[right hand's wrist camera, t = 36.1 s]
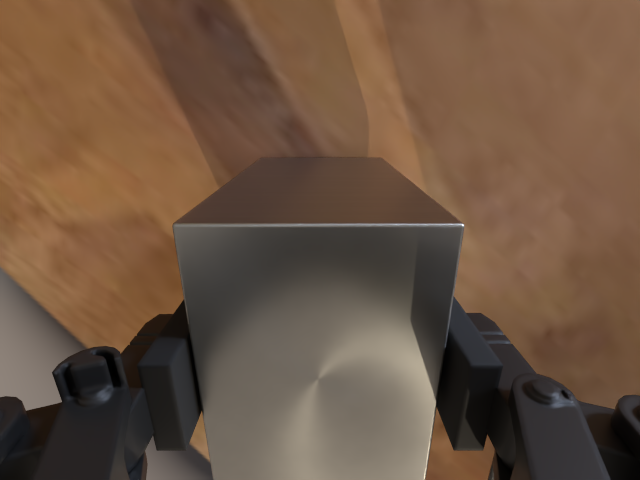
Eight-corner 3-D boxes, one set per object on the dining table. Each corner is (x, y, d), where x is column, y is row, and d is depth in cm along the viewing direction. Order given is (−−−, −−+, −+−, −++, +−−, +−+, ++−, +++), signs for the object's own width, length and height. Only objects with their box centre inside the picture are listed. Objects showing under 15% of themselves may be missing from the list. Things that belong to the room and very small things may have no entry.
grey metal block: (268, 299, 21) (213, 489, 11) (260, 157, 18) (170, 223, 8) (373, 299, 21) (424, 491, 11) (382, 157, 18) (466, 223, 8)
